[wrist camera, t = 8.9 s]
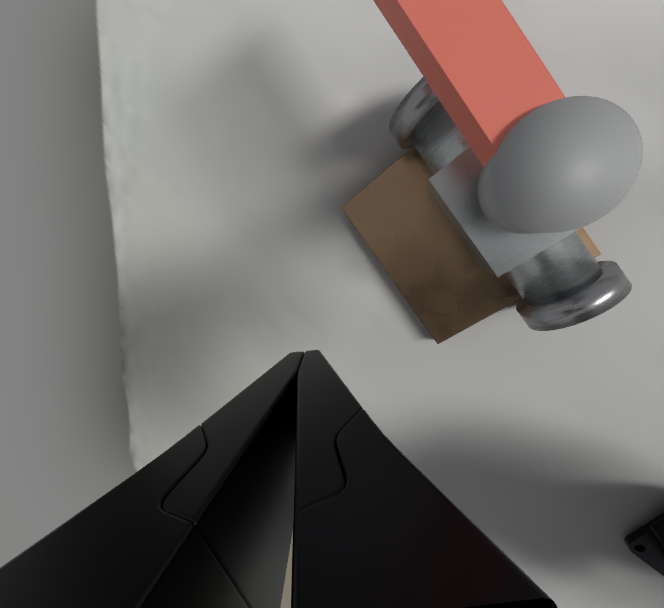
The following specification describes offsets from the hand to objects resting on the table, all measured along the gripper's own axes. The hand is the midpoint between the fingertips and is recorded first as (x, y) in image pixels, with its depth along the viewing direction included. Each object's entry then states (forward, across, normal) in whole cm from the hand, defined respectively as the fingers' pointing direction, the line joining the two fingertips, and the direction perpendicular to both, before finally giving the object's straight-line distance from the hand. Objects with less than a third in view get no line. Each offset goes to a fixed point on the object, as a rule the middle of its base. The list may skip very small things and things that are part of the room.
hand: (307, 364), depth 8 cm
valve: (+10, +8, 0) cm, 13 cm away
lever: (+6, +6, +7) cm, 11 cm away
